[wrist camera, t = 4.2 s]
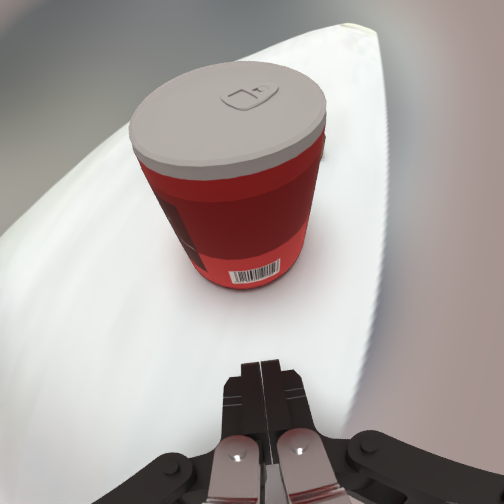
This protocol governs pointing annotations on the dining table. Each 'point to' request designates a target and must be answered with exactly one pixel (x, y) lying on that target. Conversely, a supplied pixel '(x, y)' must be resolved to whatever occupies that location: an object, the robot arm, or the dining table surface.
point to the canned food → (234, 165)
